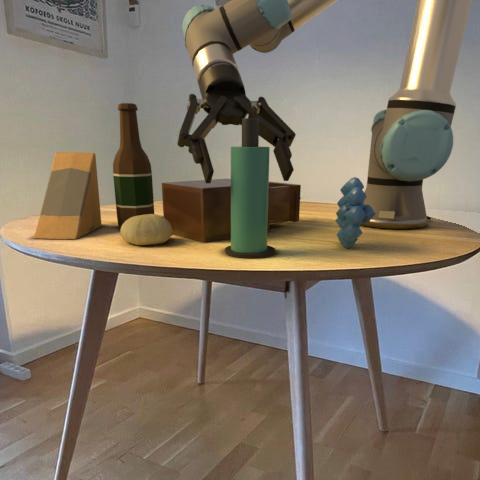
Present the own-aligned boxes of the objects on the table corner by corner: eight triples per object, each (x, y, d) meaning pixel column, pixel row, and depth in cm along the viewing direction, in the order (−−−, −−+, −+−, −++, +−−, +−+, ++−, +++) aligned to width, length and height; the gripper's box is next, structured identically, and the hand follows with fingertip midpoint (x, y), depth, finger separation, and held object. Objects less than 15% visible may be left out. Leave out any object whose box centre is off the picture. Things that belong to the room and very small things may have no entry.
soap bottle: (250, 243, 82) (251, 119, 74) (274, 249, 77) (278, 118, 70) (223, 248, 78) (222, 118, 71) (247, 255, 74) (248, 117, 66)
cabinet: (227, 222, 105) (227, 178, 102) (269, 231, 96) (270, 183, 92) (164, 231, 95) (161, 182, 92) (204, 242, 85) (202, 188, 82)
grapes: (380, 256, 76) (389, 179, 72) (338, 255, 76) (345, 179, 72) (364, 241, 87) (371, 174, 83) (328, 240, 87) (333, 173, 83)
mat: (251, 244, 84) (251, 241, 84) (285, 253, 78) (285, 249, 78) (214, 251, 79) (214, 248, 78) (247, 260, 73) (247, 257, 73)
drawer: (273, 213, 113) (273, 179, 110) (312, 219, 104) (314, 183, 101) (207, 222, 101) (206, 184, 98) (245, 230, 92) (245, 189, 89)
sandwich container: (31, 238, 88) (18, 154, 82) (64, 224, 102) (54, 151, 97) (76, 239, 87) (66, 154, 82) (102, 225, 102) (95, 152, 96)
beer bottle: (162, 225, 101) (155, 104, 92) (138, 231, 95) (128, 101, 86) (135, 222, 105) (126, 105, 96) (110, 228, 98) (98, 102, 90)
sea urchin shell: (107, 231, 85) (133, 196, 86) (137, 256, 90) (160, 224, 91) (131, 238, 78) (158, 201, 80) (162, 266, 84) (187, 230, 85)
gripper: (276, 100, 89) (310, 189, 82) (146, 96, 81) (170, 194, 73) (290, 65, 83) (328, 158, 75) (150, 57, 75) (177, 160, 67)
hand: (250, 176), depth 74 cm, fingers open, 13 cm apart
